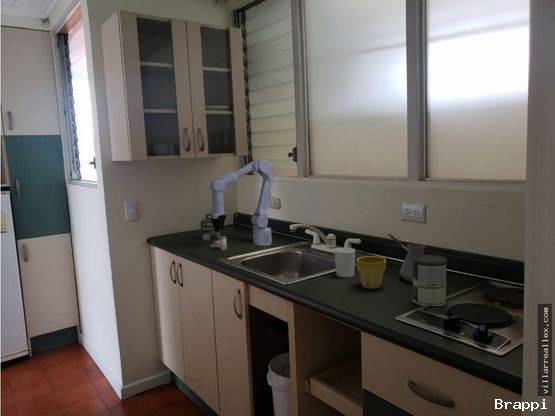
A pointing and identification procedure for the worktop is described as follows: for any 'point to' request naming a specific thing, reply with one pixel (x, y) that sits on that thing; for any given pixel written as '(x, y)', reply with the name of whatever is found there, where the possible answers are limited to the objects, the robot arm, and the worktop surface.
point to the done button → (217, 242)
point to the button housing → (215, 245)
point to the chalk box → (209, 229)
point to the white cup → (345, 262)
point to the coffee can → (429, 280)
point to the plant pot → (371, 270)
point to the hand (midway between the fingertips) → (219, 230)
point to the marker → (223, 243)
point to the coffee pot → (409, 258)
